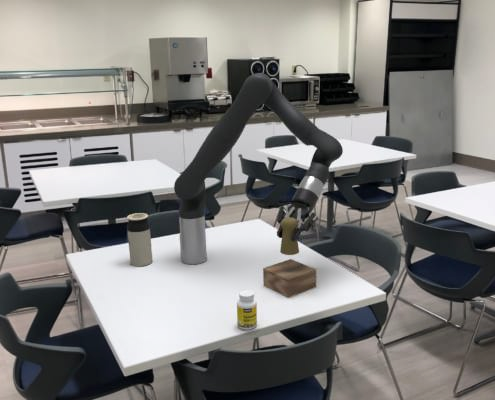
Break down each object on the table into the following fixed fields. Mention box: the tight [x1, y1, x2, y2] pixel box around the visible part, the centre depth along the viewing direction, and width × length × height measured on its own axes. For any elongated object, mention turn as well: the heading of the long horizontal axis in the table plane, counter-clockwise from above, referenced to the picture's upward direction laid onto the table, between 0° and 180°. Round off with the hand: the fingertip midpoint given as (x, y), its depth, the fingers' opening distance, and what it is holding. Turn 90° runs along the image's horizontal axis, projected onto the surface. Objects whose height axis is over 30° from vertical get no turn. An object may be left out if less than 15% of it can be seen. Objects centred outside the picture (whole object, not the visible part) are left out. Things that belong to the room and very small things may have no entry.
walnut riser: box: [262, 258, 317, 299], centre depth 165 cm, size 12×12×6 cm
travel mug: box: [126, 212, 153, 267], centre depth 186 cm, size 8×8×18 cm
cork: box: [279, 217, 300, 256], centre depth 161 cm, size 6×6×11 cm
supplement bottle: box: [236, 289, 258, 331], centre depth 140 cm, size 5×5×10 cm
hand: (285, 238), depth 160 cm, fingers closed on cork, 5 cm apart
